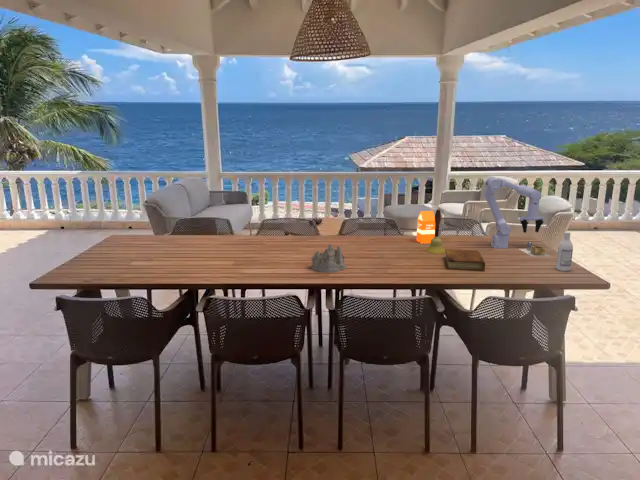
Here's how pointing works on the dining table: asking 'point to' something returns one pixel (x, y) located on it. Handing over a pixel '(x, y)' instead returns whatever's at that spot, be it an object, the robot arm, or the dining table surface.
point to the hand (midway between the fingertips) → (530, 232)
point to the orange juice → (425, 227)
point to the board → (530, 253)
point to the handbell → (436, 237)
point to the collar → (537, 250)
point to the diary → (464, 260)
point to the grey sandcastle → (329, 260)
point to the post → (529, 246)
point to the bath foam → (564, 253)
